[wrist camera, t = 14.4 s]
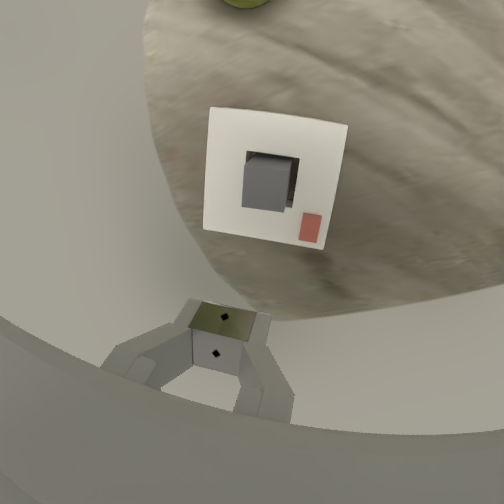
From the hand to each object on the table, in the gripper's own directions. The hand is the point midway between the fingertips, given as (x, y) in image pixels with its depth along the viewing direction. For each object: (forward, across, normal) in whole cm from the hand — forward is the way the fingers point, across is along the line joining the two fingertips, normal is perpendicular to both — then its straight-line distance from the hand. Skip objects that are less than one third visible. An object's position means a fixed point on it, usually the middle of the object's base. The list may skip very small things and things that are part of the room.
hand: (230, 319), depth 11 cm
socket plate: (+26, -2, -1) cm, 26 cm away
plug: (+26, -2, -1) cm, 26 cm away
